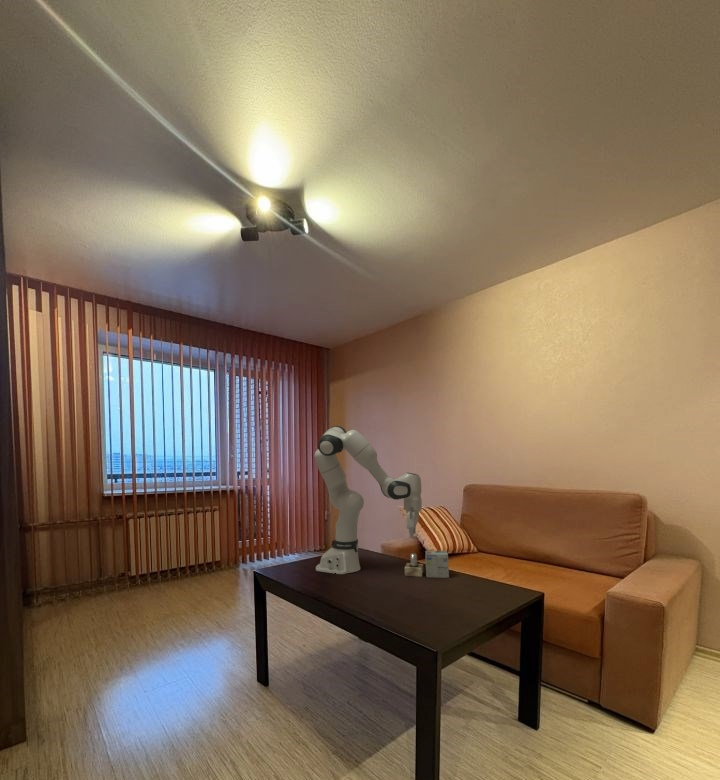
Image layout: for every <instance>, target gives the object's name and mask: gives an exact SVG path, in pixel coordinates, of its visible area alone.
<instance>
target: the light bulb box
mask: <svg viewBox="0 0 720 780" xmlns="http://www.w3.org/2000/svg"><path fill="white" fill-rule="evenodd" d="M424 552H425V554H424V555H425V556H424V559H425V561H424V562H425V575H426V578H435V579H436V578H439V579H442V578H443V579H449V578H450V571H449V570H450V569H449V553H448V551H447V550H425V551H424Z"/></svg>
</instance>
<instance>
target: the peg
mask: <svg viewBox="0 0 720 780" xmlns="http://www.w3.org/2000/svg"><path fill="white" fill-rule="evenodd" d="M409 556H410V558H409V559H410V562H409V563H411V567H417V564H418V563H417V562H418V561H417V560H418V558H417V557H418V556H417V553H413V552H411V553H410V555H409Z"/></svg>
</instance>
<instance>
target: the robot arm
mask: <svg viewBox="0 0 720 780" xmlns="http://www.w3.org/2000/svg"><path fill="white" fill-rule="evenodd" d="M317 447H318V448H317V450H315V452H314V460H315V463H316V467H317V469H318V471H319V473H320V475H321V477H322V479H323V481H324V483H325V485H326V487H327V491H328V495H329V500H330V504H331V505H332V507H333V508H335V509H336V510H338V511H339V513H338V519H337V521H336V522H335V538H333V540H332V541H331V542H330V545H331V547H330V548H329V549H328V550H326V551H325V552H324V553H323V554H322V556H321V557H320V561H319V563H318V564H317V565H316V566H315V571H316V572H321V573H329V574H335V573H336V574H335V575H346V574H349V573H355V572H358V571H360V570H361V569H362V568H361V565H360V560H359V552H358V551H359V539H358V522H359V516H360V512H361V510H362V509H363V507H364V504H365V501H364V497H363V496H362V494H360V493H359V492H357V491H355V490H353V489H350V488H349V486H348V483H347V475H346V473H345V471H344V469H343V467H342V465H341V462H340V461H339V459H338V457H337V454H339V453H341V452H342V451H346V452H347V453H349V454H350V456H351V457H352V458H353V460H354V461H356V463H358V464H359V465H360V466H362V467H363V469H366V471H368V472H369V473H370V475H372V477H373V478H374V479H375V481H376V483H378V485H379V487H380V491H381V492H382V493H381V494H382V495H383V496H385V497H386V498H387V499H392V500H394V501H397V500H402V499H403V510H404V511H405V513H406V528H407V529H408V531H409V538H411V539H412V538H414V536H415V534H416V531H417V530H416V528H417V525H418V523H419V517H420V512H421V511H422V508H423V507H422V502H423V501H422V480H421V476H420V475H419V474H416V473H414V472H413V473H412V472H405V473H404V474H403V475H401V476H400V477H396V478H394V477H392V476H390V475H389V474H388V472H386V471H385V470H384V468H382V466H381V465H380V463H379V462H378V452H377V451H376V449H375V447H374V446H373V445H372V444H371V443H370V441H369V440H368V439H367V438H366V437H365V436H364V435H363V434H361V433H360V432H359V431H358V430H356V429H350V430H348V431H346V429H345V428H344V427H343V426H339V425H334V426H331V427H329V429H327V430H326V431H325V432H323V434H322V436H320V438H319V440H318V442H317Z"/></svg>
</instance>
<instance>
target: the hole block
mask: <svg viewBox="0 0 720 780" xmlns="http://www.w3.org/2000/svg"><path fill="white" fill-rule="evenodd" d="M423 573H424V564H423V563H417V567H411V563H410V562H406V564H405V565H404V576H406V577H407V576H409V577H423Z"/></svg>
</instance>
